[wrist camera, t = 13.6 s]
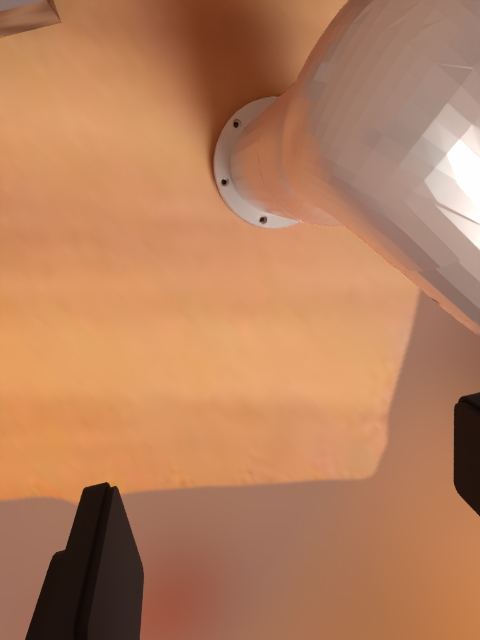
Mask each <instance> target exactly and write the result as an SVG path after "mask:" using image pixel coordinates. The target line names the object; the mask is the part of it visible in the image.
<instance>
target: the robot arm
mask: <svg viewBox="0 0 480 640" xmlns="http://www.w3.org/2000/svg"><path fill="white" fill-rule="evenodd" d="M234 122H236V123H237V124H238V127H237V128H235V127H234V126H233V123H234ZM213 167H214V177H215V181H216V185H217V188H218V190H219V193H220V195H221V197H222V199H223V200H224V202H225V203H226V205H227V206H228V207H229V209H230V210H232V211H233V212H234V213H235V214H236V215H237V216H238V217H240V218H241V219H243V220H244V221H246V222H248V223H250V224H252V225H255V226H258V227H261V228H269V229H278V228H286V227H289V226H292V225H295V224H297V223H299V222H304V223H308V224H314V225H319V226H327V227H335V226H343V225H345V226H346V227H347V228H348V229H350V230H351V231H352V232H353V233H355V234H356V235H357V236H358V237H359V238H361V239H362V240H363V241H364V242H365V243H367V244H368V245H369V246H370V247H371V248H372V249H374V250H375V251H376V252H377V253H378V254H379V255H380V256H382V257H383V258H384V259H385V260H386V261H387V262H388V263H390V264H391V265H392V266H394V267H395V268H397V269H398V270H400V271H401V272H402V273H403V274H404V275H405V276H407V277H408V278H409V279H410V280H411V281H412V282H413V283H415V284H416V285H417V286H418V287H419V288H420V289H421V290H423V291H424V292H425V293H426V294H427V295H428V296H430V297H431V298H432V299H433V300H434V301H435V302H436V303H438V304H439V305H440V306H441V307H442V308H444V310H446V311H447V312H449V313H450V314H451V315H452V316H453V317H454V318H456V319H457V320H458V321H459V322H461V323H462V324H463V325H465V326H466V327H468V328H469V329H470V330H472V331H473V332H475V333H477V334H478V335H480V0H348V2H347V3H346V4H345V5H344V6H343V7H342V8H341V9H340V11H339V12H338V13H337V15H336V16H335V17H334V19H333V20H332V21H331V23H330V24H329V25H328V27H327V28H326V30H325V31H324V33H323V34H322V35H321V37H320V38H319V40H318V42H317V43H316V45H315V46H314V48H313V49H312V51H311V53H310V55H309V56H308V58H307V60H306V62H305V64H304V66H303V68H302V70H301V72H300V74H299V76H298V78H297V81H296V82H295V83H294V84H293V85H292V86H291V87H290V88H288V89H287V90H286V91H285V92H284V93H283V94H282V95H281V96H270V97H265V98H260V99H257V100H255V101H252V102H250V103H248V104H246V105H245V106H243V107H242V108H241V109H239V110H238V111H237V112H236V113H235V114H234V115H233V116H232V117H231V118H230V119H229V120H228V122H227V123H226V124H225V126H224V128H223V129H222V131H221V133H220V135H219V137H218V140H217V144H216V147H215V151H214V160H213ZM223 179H224V180H226V184H225V185H223V184H222V183H221V181H222V180H223ZM261 217H263V218H264V220H263V221H262V222H260V218H261ZM454 485H455V488H456V490H457V492H458V493H459V495H460V496H461V497H462V498H463V499H464V500H465V501H466V502H467V503H468V504H469V505H470V506H471V508H472V509H473V510H474V511H475V512H476V513H477V514H478V515H479V516H480V393H475V394H471V395H467V396H463V397H461V398H460V399H459V401H458V403H457V404H456V405H455V407H454ZM143 582H144V573H143V566H142V562H141V559H140V556H139V552H138V549H137V546H136V543H135V540H134V537H133V534H132V530H131V527H130V524H129V521H128V518H127V515H126V512H125V509H124V505H123V502H122V499H121V496H120V493H119V490H118V488H117V486H114V487H110V485H109V483H107V482H106V483H102V484H97V485H93V486H89V487H85V488H84V489H83V492H82V495H81V499H80V502H79V505H78V509H77V512H76V516H75V519H74V522H73V526H72V529H71V533H70V536H69V539H68V542H67V546H66V549H65V550H63V551H59V552H56V553H55V554H54V555H53V557H52V560H51V562H50V565H49V568H48V571H47V574H46V577H45V580H44V583H43V586H42V589H41V592H40V595H39V598H38V602H37V605H36V608H35V611H34V614H33V617H32V620H31V623H30V626H29V629H28V632H27V635H26V639H25V640H140V626H141V612H142V598H143V584H144V583H143Z"/></svg>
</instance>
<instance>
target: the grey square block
mask: <svg viewBox="0 0 480 640" xmlns="http://www.w3.org/2000/svg"><path fill="white" fill-rule="evenodd" d="M40 1H42V0H0V11H3V10H7V9H11V8H15V7H19V6H23V5H27V4H31V3H35V2H40Z"/></svg>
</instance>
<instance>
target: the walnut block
mask: <svg viewBox="0 0 480 640" xmlns="http://www.w3.org/2000/svg"><path fill="white" fill-rule="evenodd" d="M57 23H61V21H60V18H59V15H58V12H57V10H56V7H55V4H54V1H53V0H42V1H40V2H35V3H31V4H27V5H23V6H19V7H15V8H11V9H7V10H3V11H0V38H1V37H5V36H9V35H13V34H17V33H21V32H25V31H29V30H33V29H37V28H41V27H45V26H49V25H53V24H57Z"/></svg>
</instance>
